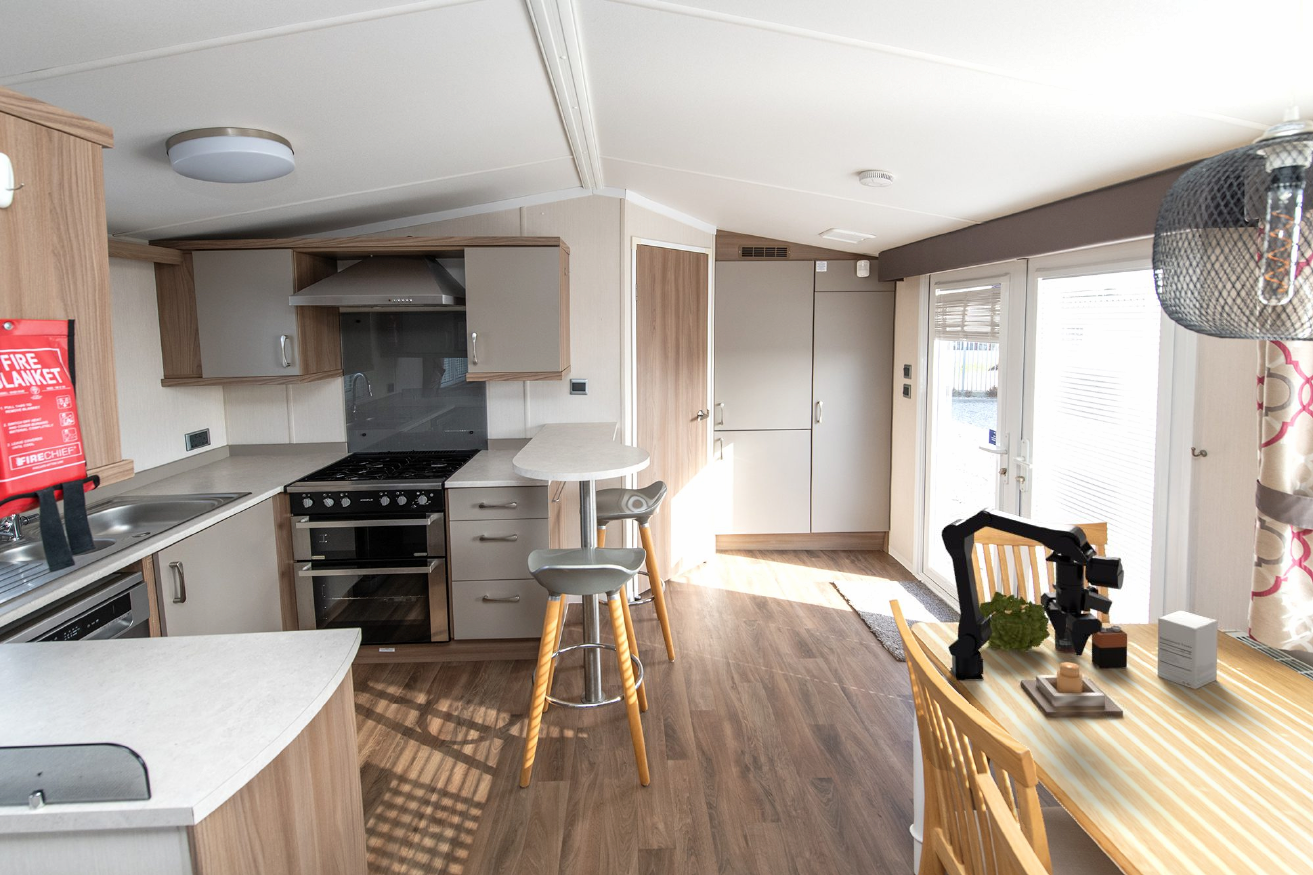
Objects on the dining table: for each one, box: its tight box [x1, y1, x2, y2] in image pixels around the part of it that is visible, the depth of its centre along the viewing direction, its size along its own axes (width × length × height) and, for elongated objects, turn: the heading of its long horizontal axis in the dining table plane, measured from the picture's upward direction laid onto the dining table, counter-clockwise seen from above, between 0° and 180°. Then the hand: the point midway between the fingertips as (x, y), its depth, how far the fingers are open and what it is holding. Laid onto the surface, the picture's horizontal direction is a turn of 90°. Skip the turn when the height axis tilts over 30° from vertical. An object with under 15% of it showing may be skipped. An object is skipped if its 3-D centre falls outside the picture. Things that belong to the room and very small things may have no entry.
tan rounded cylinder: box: [1056, 661, 1083, 693], centre depth 178 cm, size 5×5×7 cm
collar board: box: [1020, 673, 1124, 718], centre depth 179 cm, size 16×16×4 cm
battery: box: [1091, 625, 1128, 670], centre depth 194 cm, size 4×7×10 cm, turn 88°
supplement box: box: [1157, 610, 1218, 690], centre depth 184 cm, size 9×9×15 cm
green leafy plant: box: [979, 590, 1051, 654], centre depth 207 cm, size 18×16×16 cm
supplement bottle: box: [1054, 624, 1075, 654], centre depth 205 cm, size 6×6×11 cm
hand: (1069, 647), depth 177 cm, fingers open, 9 cm apart
